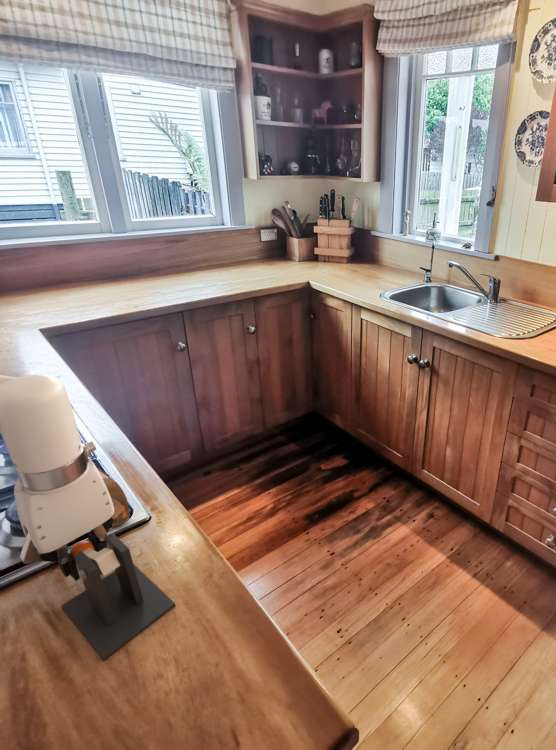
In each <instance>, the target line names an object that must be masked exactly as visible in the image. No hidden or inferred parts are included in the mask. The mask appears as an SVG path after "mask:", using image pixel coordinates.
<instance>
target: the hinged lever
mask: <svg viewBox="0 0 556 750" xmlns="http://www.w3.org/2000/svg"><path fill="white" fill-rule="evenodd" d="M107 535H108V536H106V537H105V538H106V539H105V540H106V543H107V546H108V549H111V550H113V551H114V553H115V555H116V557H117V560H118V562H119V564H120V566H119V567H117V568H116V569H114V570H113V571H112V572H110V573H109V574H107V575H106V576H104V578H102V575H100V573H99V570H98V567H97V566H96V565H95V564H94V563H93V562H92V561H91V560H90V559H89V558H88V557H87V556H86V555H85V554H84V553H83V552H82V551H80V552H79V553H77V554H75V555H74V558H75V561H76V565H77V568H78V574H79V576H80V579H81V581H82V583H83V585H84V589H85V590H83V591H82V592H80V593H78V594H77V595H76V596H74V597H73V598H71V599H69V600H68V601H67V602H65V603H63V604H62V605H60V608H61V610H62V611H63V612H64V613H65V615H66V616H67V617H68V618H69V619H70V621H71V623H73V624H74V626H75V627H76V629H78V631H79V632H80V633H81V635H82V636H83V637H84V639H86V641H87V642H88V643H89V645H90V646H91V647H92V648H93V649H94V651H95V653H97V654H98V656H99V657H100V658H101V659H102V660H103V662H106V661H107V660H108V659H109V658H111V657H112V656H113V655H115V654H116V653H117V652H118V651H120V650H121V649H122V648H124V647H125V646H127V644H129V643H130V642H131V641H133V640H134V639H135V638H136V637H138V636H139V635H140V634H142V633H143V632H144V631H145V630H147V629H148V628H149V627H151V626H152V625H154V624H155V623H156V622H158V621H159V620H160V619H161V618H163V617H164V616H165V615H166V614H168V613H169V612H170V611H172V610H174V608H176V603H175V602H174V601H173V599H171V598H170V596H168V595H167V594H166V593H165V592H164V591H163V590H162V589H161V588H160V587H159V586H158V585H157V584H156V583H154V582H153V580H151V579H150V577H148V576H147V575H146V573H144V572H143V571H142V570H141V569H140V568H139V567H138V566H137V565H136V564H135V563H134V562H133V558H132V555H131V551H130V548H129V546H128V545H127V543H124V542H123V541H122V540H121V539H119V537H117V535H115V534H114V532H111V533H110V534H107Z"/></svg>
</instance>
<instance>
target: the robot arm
mask: <svg viewBox="0 0 556 750" xmlns="http://www.w3.org/2000/svg"><path fill="white" fill-rule="evenodd" d="M77 425H78V424H77V423H76V419H75V415H74V412H73V409H72V405H71V403H70V399H69V395H68V392H67V390H66V387H65V385H64V383H63V382H62V381H61V379H60V378H57V377H56V376H53V375H50V374H43V373H42V374H40V373H38V374H37V373H36V374H28V375H23V376H8V375H1V374H0V435H1V437H2V441H3V442H4V444H5V447H6V449H7V452H8V455H9V457H10V460H11V462H12V465H13V468H14V470H15V472H16V475H17V478H18V480H19V481H17V482H16V483H15V484H14V487H13V495H14V502H15V506H16V507H15V508H16V512H17V516H18V519H19V522H20V526H21V529H22V532H23V534H24V537H25V540H24V542H23V546H22V549H21V552H20V554H19V559H20V561H21V562H22V563H23V564H25V565H28V564H34V563H39V562H48V563H58V565H59V568H60V571H61V573H62V574H63V576H64V577H65V578H68V577H69V576H70V577H71V578H72V579H73V580H74V581H75V582H77V581H79V580H80V579H81V578H80V576H79V574H78V571H79V569H78V566H77V564H76V562H75V560H74V558H73V557H72V556H71V555H70V552H69V549H68V544H69V543H70V542H71V543H72V542H73V541H75V540H76V539H78V538H80V537H81V536H84V535H85V534H87V533H88V532H90V533H88V534H87V535H88V536H87V538H88V539H87V540H88V541H90V542H92V543H93V544H94V545H95V548H96V552H99V551H101V550H102V549H104V548H108V545H107V542H106V538H105V537H106V536H108V535H109V534H108V532H109V530H110V528H112V524H113V522H114V519H115V518H117V516H118V515H119V514H120V513H121V512H122V511H123V509H124V506H123V505H121V504H120V503H119V502H117V501H116V500H114V499H112V498H111V497H110V494H109V492H108V489H107V487H106V485H105V483H104V481H103V479H102V477H101V475H100V473H99V471H98V469H99V468H97V466H96V464H95V463H94V461H93V460H92V459H91V458H90V457H89V455H91V454H92V453H93V452H95V451H97V447H96V444H95V442H93V441H90V442H88V443H87V442H84V443H83V442H82V438H81V435H80V432H79V429H78V426H77ZM108 549H109V548H108Z"/></svg>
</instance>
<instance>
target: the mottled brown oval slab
mask: <svg viewBox="0 0 556 750" xmlns="http://www.w3.org/2000/svg"><path fill="white" fill-rule="evenodd" d="M97 469H98V471H99V473H100V475H101V477H102V479H103V481H104V483H105V485H106V487H107V489H108V492H109V494H110V497H111V498H112V499H114V500H116V501H117V502H119V503H120V504H121V505H123V506H124V509H123V511H122V512H121V513H120V514H119V515H118V516H117V518H115V519H114V522H113V524H112V525H111V528H112V529H115V528H117V526H119V525H121V524H123V523H125V522H126V521H128V520H129V518H130V515H131V514H130V508H129V504H128V498H127V496H126V493H125V491H124V490H123V489H122V487H121V485H119V483H118V482H117V481H116V480H114V479H113V478H112V477H110V476H109V475H108V474H106V473H104V471H102V470H101V469H99V468H97Z"/></svg>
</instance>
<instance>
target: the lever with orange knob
mask: <svg viewBox="0 0 556 750" xmlns="http://www.w3.org/2000/svg"><path fill="white" fill-rule="evenodd" d="M80 551H82V552H83V553H84V554H85V555H86V556H87V557H88V558H89V559H90V560H91V561H92V562H93V563H94V564H95V565H96V566H97V567H98V570H99V573H100V576H101V577H106V576H108V575H109V574H111V573H112V572H114V571H115V569H116V568H117V567H119V566H120V564H119V562H118V560H117V557H116V555H115V553H114V551H113V550H111V549H109V548H104V549H102V550H101V551H99V552H96V548H95V545H94V544H93V543H92V542H90V541H89V540H88V539H87V540H86V539H85V540H80V541H78V542H76V543H74V544H73V545H72V547H71V548H70V551H69V554H70V555H71V556H72V557H73V558H74V555H75V554H77V553H79V552H80ZM74 560H75V558H74ZM75 562H76V561H75Z"/></svg>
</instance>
